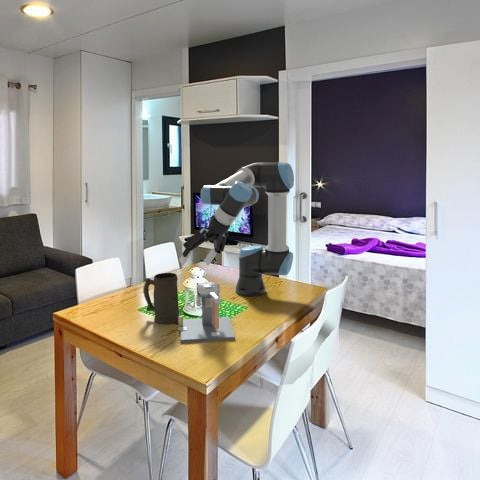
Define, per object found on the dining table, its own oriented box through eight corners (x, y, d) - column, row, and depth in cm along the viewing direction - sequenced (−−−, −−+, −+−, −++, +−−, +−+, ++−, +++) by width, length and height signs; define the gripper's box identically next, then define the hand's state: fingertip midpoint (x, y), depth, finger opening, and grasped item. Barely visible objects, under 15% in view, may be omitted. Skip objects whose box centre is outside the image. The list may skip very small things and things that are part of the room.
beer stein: (183, 315, 178) (179, 271, 175) (179, 324, 168) (174, 278, 164) (149, 316, 179) (144, 273, 175) (142, 326, 169) (137, 279, 165)
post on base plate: (229, 319, 173) (229, 289, 171) (235, 339, 154) (235, 306, 151) (178, 322, 170) (178, 291, 168) (178, 343, 151) (177, 308, 148)
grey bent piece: (195, 313, 168) (194, 283, 166) (216, 310, 171) (216, 281, 168) (205, 330, 151) (204, 297, 149) (228, 327, 154) (228, 294, 152)
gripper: (204, 223, 141) (174, 269, 149) (249, 229, 160) (220, 269, 168) (192, 210, 144) (164, 255, 152) (238, 217, 164) (211, 256, 172)
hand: (194, 262), depth 160 cm, fingers open, 13 cm apart
